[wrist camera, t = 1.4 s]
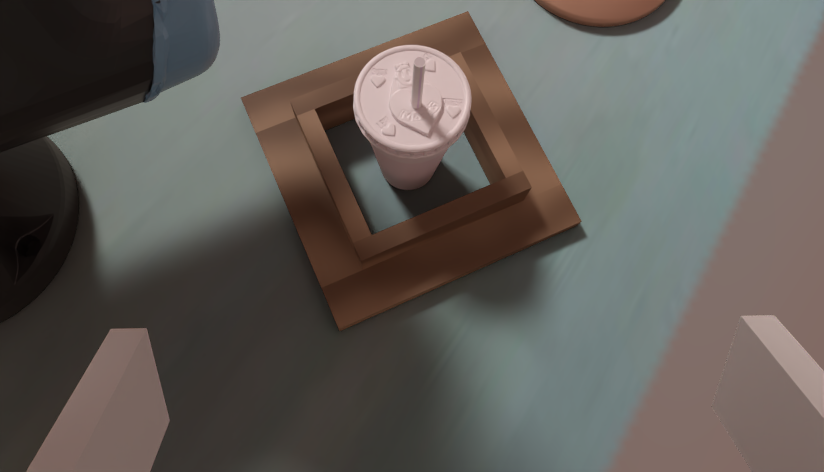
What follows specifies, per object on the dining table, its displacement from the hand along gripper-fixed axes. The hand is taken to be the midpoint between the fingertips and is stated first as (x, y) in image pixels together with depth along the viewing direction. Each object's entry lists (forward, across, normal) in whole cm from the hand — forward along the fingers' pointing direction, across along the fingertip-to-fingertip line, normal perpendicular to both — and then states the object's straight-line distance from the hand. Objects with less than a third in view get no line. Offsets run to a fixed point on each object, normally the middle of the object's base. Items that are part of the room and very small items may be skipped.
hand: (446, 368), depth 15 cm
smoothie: (+29, 0, -8) cm, 30 cm away
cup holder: (+29, 0, -7) cm, 30 cm away
